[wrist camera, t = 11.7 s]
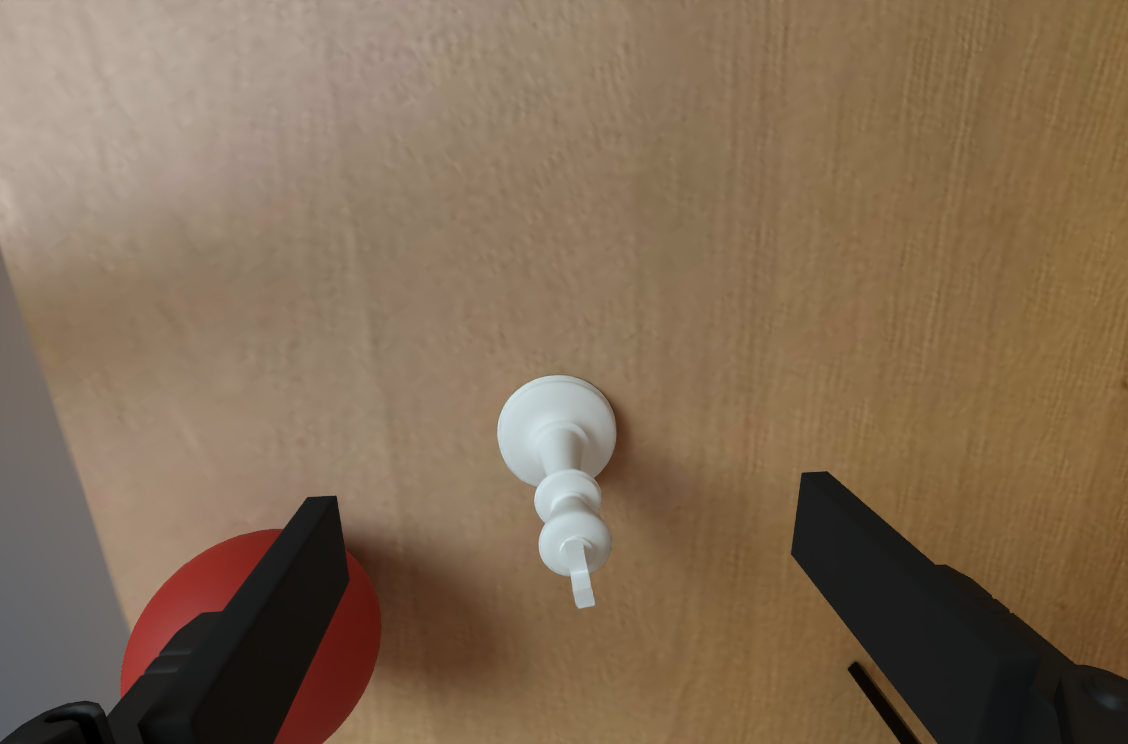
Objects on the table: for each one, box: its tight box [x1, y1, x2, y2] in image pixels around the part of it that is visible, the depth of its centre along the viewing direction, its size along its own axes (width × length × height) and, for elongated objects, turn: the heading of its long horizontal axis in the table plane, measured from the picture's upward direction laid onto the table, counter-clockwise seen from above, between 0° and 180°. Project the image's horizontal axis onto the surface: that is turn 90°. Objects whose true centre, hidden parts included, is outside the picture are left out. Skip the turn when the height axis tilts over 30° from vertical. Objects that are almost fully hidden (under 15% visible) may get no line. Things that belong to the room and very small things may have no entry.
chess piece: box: [497, 375, 616, 609], centre depth 17 cm, size 5×5×10 cm
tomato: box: [121, 529, 381, 744], centre depth 19 cm, size 8×8×9 cm
